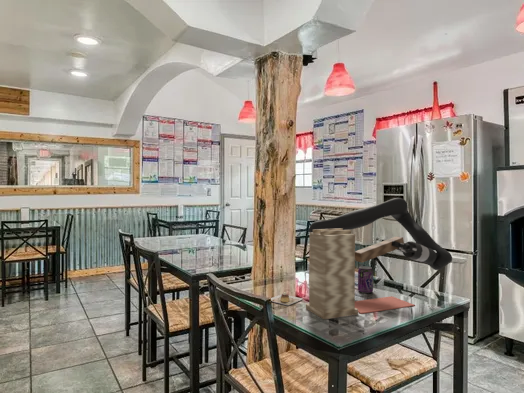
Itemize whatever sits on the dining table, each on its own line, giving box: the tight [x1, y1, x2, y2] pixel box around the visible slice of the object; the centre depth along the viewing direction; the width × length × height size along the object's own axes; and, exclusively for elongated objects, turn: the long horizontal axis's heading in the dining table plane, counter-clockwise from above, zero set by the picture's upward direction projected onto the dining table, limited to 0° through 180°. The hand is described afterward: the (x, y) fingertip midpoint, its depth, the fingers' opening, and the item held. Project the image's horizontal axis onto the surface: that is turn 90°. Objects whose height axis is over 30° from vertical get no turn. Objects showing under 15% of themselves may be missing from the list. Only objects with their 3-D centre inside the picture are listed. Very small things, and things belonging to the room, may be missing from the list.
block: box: [355, 236, 405, 264], centre depth 155 cm, size 24×4×4 cm, turn 115°
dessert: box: [271, 291, 303, 306], centre depth 164 cm, size 12×12×5 cm
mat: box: [355, 295, 416, 315], centre depth 158 cm, size 28×14×1 cm, turn 112°
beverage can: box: [357, 265, 374, 294], centre depth 179 cm, size 7×7×12 cm
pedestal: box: [305, 228, 359, 320], centre depth 149 cm, size 16×14×34 cm
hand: (388, 242), depth 157 cm, fingers closed on block, 4 cm apart
